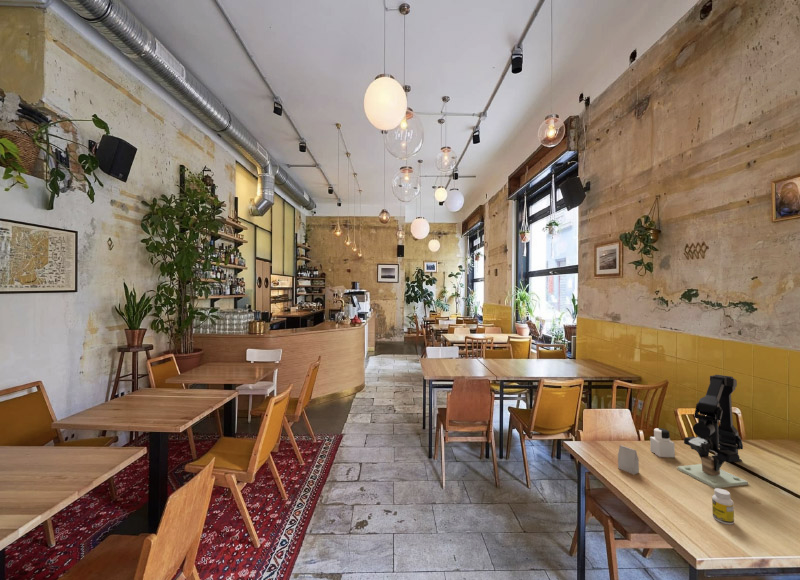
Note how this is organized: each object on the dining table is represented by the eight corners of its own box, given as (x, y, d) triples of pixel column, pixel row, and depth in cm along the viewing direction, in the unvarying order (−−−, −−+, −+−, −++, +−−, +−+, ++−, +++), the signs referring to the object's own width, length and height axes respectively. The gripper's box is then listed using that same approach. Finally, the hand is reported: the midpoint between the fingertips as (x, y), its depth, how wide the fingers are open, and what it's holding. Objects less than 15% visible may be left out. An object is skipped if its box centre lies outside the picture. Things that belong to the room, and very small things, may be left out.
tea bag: (634, 474, 150) (633, 451, 150) (618, 468, 156) (617, 445, 156) (638, 472, 152) (638, 449, 152) (622, 466, 158) (622, 444, 158)
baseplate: (707, 466, 157) (707, 462, 157) (748, 484, 141) (748, 480, 141) (677, 469, 154) (677, 465, 154) (715, 488, 139) (715, 483, 139)
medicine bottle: (665, 451, 173) (664, 427, 173) (675, 457, 165) (674, 432, 166) (650, 450, 173) (649, 426, 174) (659, 457, 166) (658, 432, 166)
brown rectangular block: (710, 470, 150) (709, 456, 150) (720, 474, 146) (719, 460, 146) (702, 471, 150) (701, 456, 150) (712, 475, 146) (711, 461, 146)
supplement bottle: (708, 515, 121) (707, 487, 122) (722, 514, 122) (721, 486, 122) (724, 525, 116) (722, 496, 116) (738, 524, 117) (737, 495, 117)
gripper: (672, 425, 156) (674, 460, 156) (716, 442, 138) (718, 481, 137) (693, 423, 158) (695, 458, 158) (739, 440, 140) (741, 479, 139)
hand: (710, 468), depth 148 cm, fingers open, 4 cm apart
